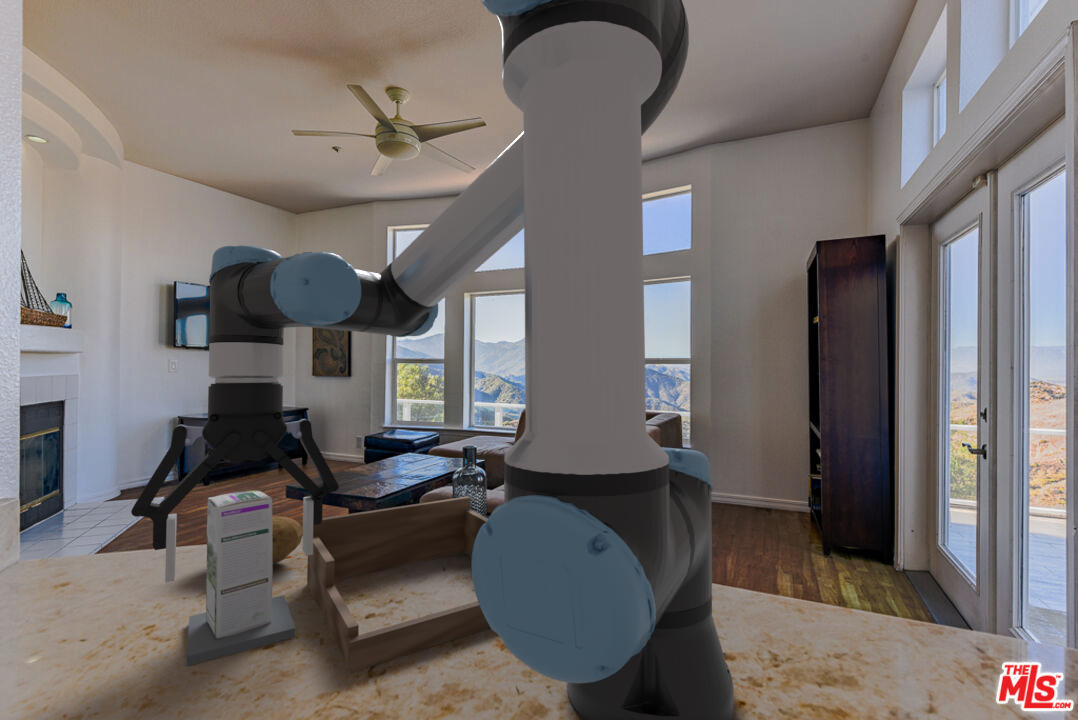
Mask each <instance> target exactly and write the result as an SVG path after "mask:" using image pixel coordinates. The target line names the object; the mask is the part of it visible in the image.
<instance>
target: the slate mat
mask: <svg viewBox="0 0 1078 720" xmlns="http://www.w3.org/2000/svg"><path fill="white" fill-rule="evenodd" d="M293 638H296V626H295V622H294V620H293V616H292V615H291V611H290V608H289V607H288V603H287V600H286V597H285V594H282V595H278V596H274V597H273V596H272V622H271V623H268V624H265V625H262V626H259V627H256V628H253V629H250V630H247V631H244V632H240V633H237V634H234V635H230V636H227V637H223V638H218V639H217V638H216V637H215V636H214V634H213V632H212V630H211V628H210V627H209V625H208V623H207V621H206V612H201V613H198V614H193V615H189V617H188V632H187V643H186V644H187V645H186V647H187V648H186V667H188V666H192V665H193V666H194V665H197V664H200V663H204V662H208V661H211V660H214V659H218V658H222V657H226V656H230V655H234V654H238V653H241V652H244V651H248V650H252V649H256V648H260V647H263V646H266V645H270V644H274V643H277V642H282V641H285V640H289V639H293Z"/></svg>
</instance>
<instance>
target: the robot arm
mask: <svg viewBox="0 0 1078 720" xmlns="http://www.w3.org/2000/svg"><path fill="white" fill-rule="evenodd" d="M480 1H481V4H482V5H483V7H484V8H485V9H486V10H487V11H488V12H489V13H491V14H492V15H495V16H496V17H497V19H498V21H499V24H500V27H501V35H502V36H501V39H502V40H501V44H502V46H501V47H502V49H501V51H502V53H501V55H502V57H501V59H502V62H501V63H502V76H501V77H502V85H503V86H502V87H503V90H504V92H505V94H506V96H507V98H508V99H509V100H510V102H511V103H512V104H513V105H514V106H515V107H516V108H518V109H519V110H520V111H522V114H523V115H522V118H523V131H522V132H521V134H520V135H518V136H517V138H515V139H514V141H512V143H510V145H508V146H507V147H506V148H505V149H504V151H502V152H501V153H500V154H499V155H498V156H497V157H496V158H495V159H494V160H493V161H492V162H491V164H489V165H488V166H487V167H486V168H485V169H484V170H483V171H482V173H480V174H479V175H478V176H477V177H476V178H475V179H474V180H473V181H472V182H471V183H470V184H469V185H468V186H467V187H466V188H465V189H464V190H463V191H462V192H461V193H460V194H459V195H458V196H457V197H456V198H455V199H453V201H452V202H451V203H450V204H449V205H448V206H447V207H446V208H445V209H444V210H443V211H442V212H441V213H440V214H439V215H437V217H436V218H435V219H434V220H433V221H432V222H431V223H430V224H429V225H428V226H427V227H426V228H425V229H424V230H422V231H421V233H420V234H419V235H418V236H417V237H415V239H414V240H412V242H410V243H409V245H407V247H405V249H404V250H402V252H401V253H400V254H398V256H397V257H395V258H394V260H393V261H391V263H389V264H388V265H387V266H386V267H385V268H384V269H383V270H382V271H380V272H379V273H376V272H373V271H367V270H363V269H358V268H354V267H353V265H352V264H350V263H348V262H347V261H346V260H345V259H344V258H343V257H342V256H340V255H338V254H335V253H333V252H330V251H329V252H327V251H317V252H312V251H309V252H307V251H304V252H302V253H296V254H294V255H290V256H287V257H284V258H283V256H282V255H281V254H280V253H278V252H276V251H274V250H271V249H267V248H263V247H258V246H253V245H252V246H251V245H235V246H234V245H225V246H221V247H219V248H217V249H216V250H215V251H214V253H213V254H212V262H211V271H210V272H211V273H210V275H209V278H208V279H209V280H208V283H209V285H210V286H209V287H210V288H209V293H210V294H209V296H210V297H209V299H210V300H209V347H208V350H209V352H208V377H210V378H211V379H214V383H210V386H208V387H207V388H208V392H207V393H208V395H207V421H206V423H205V425H204V426H191V425H190V426H189V425H186V424H177V425H175V427H174V429H173V431H172V435H171V436H172V438H171V443H170V447H169V449H168V450H167V452H165V455H164V457H163V458H162V460H161V462H160V463H159V464H158V466H157V468H156V469H155V471H154V473H153V474H152V476H151V477H150V479H149V480H148V482H147V484H146V486H145V487H144V488H143V490H142V492H141V493H140V495H139V497H138V499H136V502H135V503H134V505H133V507H132V508H131V513H130V514H131V516H133V517H136V518H137V517H138V518H139V517H144V518H149V519H150V520H151V521H152V547H153V549H154V551H157V550H158V551H159V550H165V571H164V573H165V575H164V581H165V582H164V583H169V582H174V581H175V577H176V561H177V560H176V556H177V524H178V523H177V521H178V520H177V519H178V517H177V516H178V514H177V513H171V512H172V511H173V510H174V509H175V508H176V507H178V505H179V504H180V503H181V502H182V501H183V500H184V499H185V497H187V496H188V495H189V493H190V492H191V491H193V489H194V488H195V487H196V486H197V485H198V484H199V483H200V482H201V481H202V480H203V479H204V477H206V475H208V474H209V472H211V470H212V469H214V468H215V467H216V465H218V463H220V462H221V461H222V460H223V461H226V462H229V463H231V464H233V463H240V462H243V461H253V462H255V461H256V462H257V461H262V460H263V459H265V458H267V457H268V456H271V457H272V458H273V459H274V460H275V461H276V462H277V464H279V465H280V466H281V467H282V468H283V469H284V470H285V471H286V472H287V473H288V474H289V475H290V476H291V477H292V478H293V479H294V480H295V481H296V482H297V483H298V484H300V486H301V487H302V488H303V489H304V490H306V492H308V494H309V496H304V497H303V498H302V529H303V536H302V551H303V553H304V555H305V556H306V557H308V555H313V525H317V524H321V522H322V518H323V503H324V502H323V501H324V498H325V496H326V495H329V494H331V493H334V492H337V491H338V490H339V488H340V487H339V486H340V485H339V484H338V481H337V480H336V478H335V475H334V474H333V473H332V470H331V468H330V467H329V465H328V463H327V461H326V460H325V457H324V456H323V454H322V452H321V450H320V449H319V447H318V444H317V442H316V441H315V440H314V437H313V428H312V422H311V421H310V420H308V419H306V418H300V419H299V420H297V421H290V422H286V421H285V420H284V418H283V417H284V416H283V407H284V405H283V404H284V403H283V402H284V399H283V398H284V391H283V390H284V385H282V383H281V382H279V380H278V379H282V377H284V344H285V343H284V336H285V335H284V333H285V331H284V329H285V328H302V327H303V328H316V329H325V330H336V331H344V332H345V331H346V332H359V333H365V334H366V333H368V334H375V335H384V336H391V337H398V338H405V337H420V336H422V335H425V334H426V333H428V331H429V332H430V330H431V329H432V328H433V326H434V323H435V321H436V319H437V318H438V314H439V303H440V302H441V301H442V300H443V299H445V297H447V296H448V295H449V294H450V293H451V292H452V291H454V290H455V289H456V288H457V287H458V286H459V285H461V284H462V283H463V282H464V281H465V280H466V279H467V278H468V277H470V276H471V275H472V274H473V273H474V272H475V271H476V270H478V269H479V268H480V267H481V266H482V265H483V264H485V263H486V262H488V260H489V259H491V257H493V256H494V255H495V254H496V253H497V252H499V251H500V250H501V249H502V248H503V247H504V246H505V245H506V244H508V242H510V241H511V240H512V239H513V238H514V237H516V236H517V235H518V234H519V233H520V232H521V231H522V230H523V229H524V230H523V237H524V238H523V239H524V241H523V243H524V246H523V247H524V249H523V250H524V255H523V256H524V257H523V258H524V262H523V263H524V265H523V266H524V362H525V363H524V364H525V365H524V367H525V368H524V369H525V370H524V375H525V379H524V382H525V383H524V384H525V385H524V387H525V388H524V389H525V390H524V391H525V392H524V394H525V395H524V396H525V427H524V432H523V433H522V435H521V436H520V438H519V439H518V440H517V441H516V442H515V443H514V444H512V446H511V447H510V448H509V449H508V450H507V451H506V452H505V453H504V459H503V463H504V464H503V465H504V466H503V467H504V468H503V469H504V474H503V475H504V477H503V481H504V482H503V483H504V484H503V486H504V488H503V489H504V490H503V491H504V492H503V496H504V497H503V500H504V501H503V503H500V504H499V505H498V506H496V507H495V508H494V510H493V511H492V513H490V515H489V516H488V517H487V518H488V520H487V521H486V523H485V524H483V525H482V527H481V528H480V530H479V532H478V534H477V537H476V539H475V543H474V546H473V552H472V557H471V579H472V583H473V584H472V585H473V588H474V592H475V596H476V599H477V601H478V603H479V605H480V608H481V610H482V612H483V614H484V616H485V618H486V620H487V622H488V624H489V625H490V627H491V628H490V629H491V630H492V631H493V632H494V633H496V634H497V636H499V637H500V638H501V640H502V641H503V644H504V647H505V648H506V649H507V650H508V651H509V652H510V653H511V655H513V656H514V657H515V658H516V659H518V660H519V661H520V662H521V663H523V664H524V665H525V666H527V667H528V668H530V669H531V670H532V671H535V672H537V673H538V674H540V675H543V676H544V677H547V678H549V679H553V680H556V681H558V682H564V683H566V685H567V687H566V688H567V694H568V698H569V700H570V702H571V704H572V706H573V708H574V709H575V710H576V712H577V713H578V715H580V717H581V718H582V719H583V720H733V718H734V713H735V712H734V711H735V702H734V701H735V698H734V697H735V696H734V695H735V693H734V692H735V691H734V682H733V676H732V674H731V670H730V668H729V666H728V664H727V662H726V660H725V655H724V652H723V649H722V648H723V647H722V644H721V642H720V638H719V634H718V631H717V627H716V625H715V621H714V618H713V561H712V560H713V554H712V553H713V552H712V551H713V550H712V549H713V547H712V546H713V541H712V539H713V538H712V537H713V536H712V534H713V533H712V532H713V531H712V528H713V527H712V526H713V525H712V492H713V490H714V487H715V486H714V482H713V480H712V473H711V464H710V460H709V458H708V457H707V455H706V454H705V453H703V452H701V451H700V450H694V449H684V448H673V447H662V446H660V445H659V444H658V443H657V442H656V441H655V440H654V439H653V438H652V437H651V436H650V435H649V433H648V431H647V413H646V409H647V408H646V407H647V405H646V403H647V401H646V352H645V351H646V350H645V349H646V347H645V346H646V345H645V344H646V343H645V342H646V340H645V334H646V333H645V295H644V294H645V291H644V290H645V286H644V285H645V284H644V283H645V281H644V278H645V277H644V273H645V272H644V271H645V270H644V227H643V226H644V225H643V224H644V223H643V221H644V219H643V215H644V214H643V164H642V163H643V160H642V154H643V153H642V137H643V136H644V134H645V133H646V132H647V131H648V129H649V128H650V127H652V125H653V124H654V123H655V121H656V120H657V119H658V117H659V116H660V115H661V113H663V111H664V109H665V108H666V107H667V105H668V103H669V102H670V100H671V98H672V97H673V95H674V94H675V91H676V90H677V87H678V85H679V83H680V80H681V78H682V75H683V72H684V69H685V67H686V62H687V58H688V53H689V52H688V51H689V46H690V44H689V42H690V41H689V40H690V37H689V35H690V34H689V28H690V27H689V22H688V17H687V11H686V8H685V6H684V2H683V0H480ZM287 432H290V433H291V435H292V437H294V439H299V442H300V443H301V445H302V447H303V449H304V451H305V452H306V454H307V456H308V458H309V460H310V461H311V463H312V465H313V467H314V469H315V470H316V472H317V474H318V476H319V478H320V479H321V481H322V483H319V484H316V483H315V482H314V481H313V480H312V479H311V477H309V476H308V475H307V474H306V473H305V472H304V471H303V470H302V469H301V468H300V467H299V466H298V465H297V464H296V463H295V462H294V461H293V460H292V459H291V458H290V457H289V456H288V455H287V454H286V452H284V451H283V449H281V448H280V447H279V446H278V444H279V443H280V442H281V441H282V440H283V437H285V435H286V433H287ZM201 437H202V438H203V439H204V441H205V442H206V443H207V444H208V445H209V446H210V447H211V450H209V451H208V452H207V453H206V454H205V455H204V456H203V458H202V459H201V460H200V461H198V463H197V465H195V466H194V467H193V468H192V469H191V470H190V472H189V473H187V474H186V475H185V476H184V478H183V479H182V480H181V481H180V482H179V483H177V485H176V486H175V487H174V488H173V489H172V490H171V491H170V492H169V493H168V494H167V495H166V496H165V498H163V499H162V500H161V501H160V503H154V502H153V500H154V499H155V497H156V496H157V494H158V492H159V491H160V489H161V487H162V486H163V484H164V483H165V481H166V479H167V477H168V476H169V475H170V473H171V472H172V470H173V467H174V466H175V465H176V463H177V461H178V460H179V459H180V457H181V455H182V454H183V453H182V452H183V450H184V448H185V446H186V447H188V446H192V445H193V444H194V443H195V441H196V439H198V438H201Z"/></svg>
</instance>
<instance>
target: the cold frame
mask: <svg viewBox="0 0 1078 720" xmlns="http://www.w3.org/2000/svg"><path fill="white" fill-rule="evenodd" d="M488 518H489V517H487V516H484V515H483V514H480V513H478V512H476V511H474V510H472V509H471V497H470V496H462V497H457V498H456V497H455V498H449V499H442V500H435V501H427V502H422V503H421V502H420V503H414V504H407V505H401V506H394V507H388V508H380V509H375V510H367V511H361V512H354V513H348V514H342V515H341V514H340V515H334V516H327V517H322V522H321V524H317V525H313V555H308V556H307V564H306V565H307V566H306V567H307V572H306V573H307V574H306V577H307V578H306V581H307V582H306V584H307V587H308V590H309V592H310V593H311V595H312V597H313V599H314V602H315V604H316V606H317V607H318V610H319V612H320V614H321V616H322V618H323V619H324V620H323V621H324V622H325V624H326V626H327V628H328V631H329V632H330V634H331V636H332V638H333V641H334V642H335V645H336V647H337V649H338V651H339V653H340V655H341V657H342V660H343V661H344V664H345V666H346V668H347V670H348V672H349V673H350V674H352V673H355V672H356V673H357V672H359V671H362V670H364V669H368V668H371V667H374V666H377V665H380V664H383V663H386V662H390V661H391V660H395V659H399V658H401V657H404V656H408V655H410V654H414V653H417V652H420V651H423V650H427V649H428V648H432V647H436V646H438V645H441V644H444V643H448V642H450V641H455V640H457V639H460V638H462V637H466V636H469V635H472V634H475V633H477V632H481V631H485V630H487V629H491V627H490V625H489V624H488V622H487V620H486V618H485V616H484V614H483V612H482V610H481V608H480V605H479V603H478V600H476V601H474V602H473V601H472V602H469V603H467V604H463V605H459V606H456V607H452V608H449V609H448V608H447V609H446V610H442V611H438V612H435V613H432V614H428V615H425V616H421V617H417V618H414V619H411V620H406V621H404V622H403V621H402V622H399V623H397V624H393V625H389V626H385V627H383V628H380V629H379V628H378V629H375V630H372V631H368V632H364V633H362V634H359V627H360V626H359V623H358V622H357V620H356V619H355V617H354V615H353V613H352V612H351V610H350V608H349V607H348V605H347V603H346V602H345V600H344V599H343V597H342V596H341V594H340V592H339V590H338V589H337V587H336V586H335V582H336V581H340V580H346V579H350V578H355V577H359V576H363V575H368V574H373V573H378V572H382V571H385V570H386V571H387V570H391V569H396V568H400V567H405V566H410V565H415V564H418V563H423V562H428V561H432V560H438V559H441V558H445V557H449V556H451V557H452V556H455V555H460V554H463V553H465V554H466V555H467V554H468V556H469V557H470V556H471V557H470V558H472V552H473V546H474V543H475V539H476V537H477V534H478V532H479V530H480V528H481V527H482V525H483V524H485V523H486V521H487V520H488Z"/></svg>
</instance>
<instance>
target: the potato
mask: <svg viewBox="0 0 1078 720" xmlns="http://www.w3.org/2000/svg"><path fill="white" fill-rule="evenodd" d="M204 535H205V536H204V537H205V543H206V546H207V530H206V532H205V534H204ZM302 540H303V525H301V523H300V522H298V521H297V520H295V519H293V518H290V517H289V516H288V517H287V516H280V515H279V516H277V515H272V565H273V564H278V563H280V562H281V561H284V560H285V559H286V558H287V557H288V556H289V555H290V554H291V553H292V552H294V550H296V548H298V546H300V544H301V543H302Z"/></svg>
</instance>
